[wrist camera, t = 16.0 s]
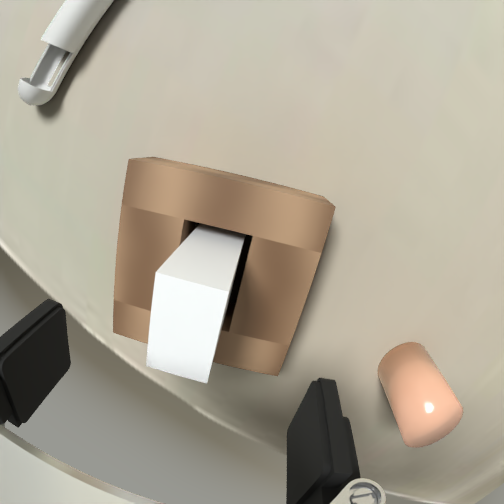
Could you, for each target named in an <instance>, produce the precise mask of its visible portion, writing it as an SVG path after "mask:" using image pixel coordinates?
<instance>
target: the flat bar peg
mask: <svg viewBox="0 0 504 504" xmlns="http://www.w3.org/2000/svg"><path fill="white" fill-rule="evenodd" d="M245 235H246V234H243V233H239V232H235V231H231V230H227V229H223V228H219V227H215V226H210V225H206V224H202V223H200V224H199V225H198V226H197V228H196V229H195V230H194V231H193V232H192V233H191V234H190V235H189V236H188V237H187V238H186V239H185V240H184V241H183V243H182V244H181V245H180V246H179V247H178V248H177V249H176V250H175V251H174V252H173V254H172V255H171V256H170V257H169V258H168V259H167V260H166V261H165V262H164V263H163V265H162V266H161V267H160V268H159V269H158V270H157V271H156V274H155V282H154V290H153V298H152V307H151V316H150V326H149V337H148V349H147V363H146V366H148V367H151V368H154V369H158V370H161V371H164V372H167V373H171V374H174V375H178V376H181V377H185V378H188V379H192V380H196V381H199V382H203V383H207V382H208V378H209V374H210V370H211V367H212V363H213V359H214V355H215V351H216V348H217V344H218V340H219V336H220V333H221V329H222V325H223V321H224V318H225V314H226V310H227V306H228V303H229V299H230V295H231V291H232V287H233V283H234V279H235V275H236V271H237V267H238V263H239V259H240V255H241V251H242V247H243V243H244V239H245Z"/></svg>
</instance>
